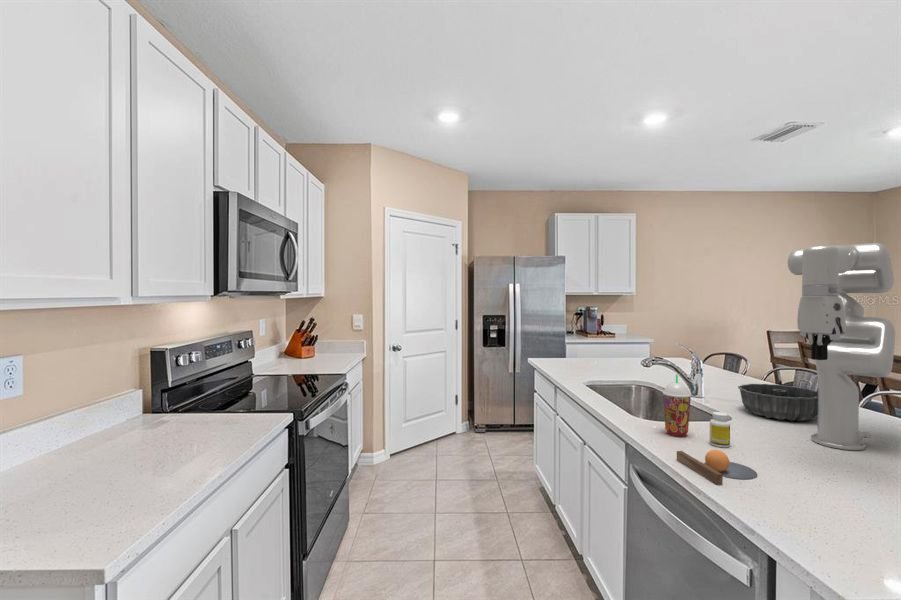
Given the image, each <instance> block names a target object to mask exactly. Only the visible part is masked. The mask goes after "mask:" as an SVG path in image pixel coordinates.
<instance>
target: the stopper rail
mask: <svg viewBox="0 0 901 600" xmlns="http://www.w3.org/2000/svg"><path fill="white" fill-rule="evenodd" d="M676 461H678V462H679V463H681V464H682V465H684V466H686V467H687V468H689V469H691V470H693V471H694V472H695V473H697V474H699V475H700V476H702V477H704V478H705V479H706V480H709V482H712V483H714V484H715V485H717V486H718V485H719V486H720V485H723V474H721V473H719V472H717V471H716V470H714V469H712V468H711V467H709V466H707V465H705V464H704V463H705V462H704V463H703V462H702V461H700V460H698V459H696V458H695V457H693V456H691V455H690V454H688V453H687V452H685V451H683V450H677V451H676Z"/></svg>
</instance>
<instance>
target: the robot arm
mask: <svg viewBox="0 0 901 600" xmlns="http://www.w3.org/2000/svg"><path fill="white" fill-rule="evenodd" d="M787 268H788V270H789V272H790V273H791V274H793V275H795V276H801V297H800V299H799V303H798V308H797V329H798V331H799V335H800V336H801V337H804V338H806V339H807V340H808V344H809V345H811V348H810V349H811V356H810V357H811V360H814V362H815V367H816V373H817V375H816V376H817V391H818V415H817V433H813V434H811V435H810V440H812V441H813V442H814V443H816V444H818V443H819V445H822V446H825V447H828V448H829V447H830V448H834V449H839V450H844V451H845V450H847V451H863V450H865V449H866V443H864V442H863V441H862V440H863V439H870V438H872V436H873V434H872V433H871V432H870V431H861V430H859V428H860V427H859V422H860V421H859V420H860V419H859V417H860V416H859V414H860V412H859V410H860V409H859V407H860V406H859V405H860V403H859V402H860V400H859V398H860V391H859V388H858V385H856V383H855V382H854V381H853V380H852V379H851V377H849V375H851V376H861V377H871V378H885V377H888V376H889V375H890V374H891V372H892V370H893V366H894V365H893V364H894V355H895V344H896V331H895V327H894V326H895V325H894V324H893V322H892V321H891V320H890V319H887V318H884V317H873V316H871V317H870V316H864V313H865V309H864V307H863V306H862V304H861V303H860V302H859V301H858V300H856V299H855V298H853V297H851V296H850V295H848V294H885V293H888V292H889V291H891V289H892V288H893V286H894V281H895V280H894V272H893V271H894V270H893V265H892V259H891V255H890V251H889V249H888V248H887V247H886V246H885V245H884V244H882V243H879V242H871V243H870V242H868V243H853V244H839V245H838V244H835V245H820V246H819V245H818V246H809V247H806V248H800V249H794V250H792V251H791V252H790V253H789V255H788V258H787Z"/></svg>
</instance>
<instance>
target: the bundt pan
mask: <svg viewBox="0 0 901 600" xmlns="http://www.w3.org/2000/svg"><path fill="white" fill-rule="evenodd" d="M737 388H738V389H739V393H740V397H741V402H742V404H743V407H744V408H745V409H746V410H747V411H748V412H749V413H751V414H753V413H755V414H754V415H756V416H758V417H765V418H767V419H772V418H774V419H776V420H779V421H780V420H781V421H782V420H787V421H788V420H789V422H794V421H798V422H801V421H811V420H814V419H815V418H816V417H818V390H817V391H816V390H814V389H810V388H805V387H798V386H790V385H785V384H772V383H771V384H768V383H748V384H741V385H738V386H737Z"/></svg>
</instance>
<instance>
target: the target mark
mask: <svg viewBox="0 0 901 600" xmlns="http://www.w3.org/2000/svg"><path fill="white" fill-rule="evenodd" d="M704 464H705V465H707V464H706V462H704ZM719 473H721V474H723V476H724V478H727V479H728V478H729V479H733V480H746V481H747V480H753V478H754V479H756V478H757V477H758V473H757V472H756V471H755V469H753V468H752V467H751V468H750V467H749V466H747V465H744V464H741V463H737V462H733V461H729V467H728V468H727V469H726V470H725V471H722V472H719Z"/></svg>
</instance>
